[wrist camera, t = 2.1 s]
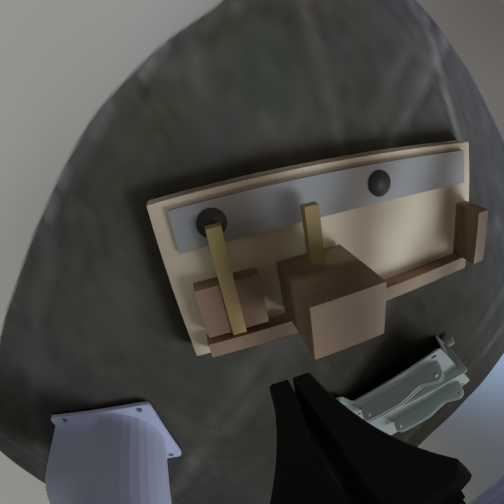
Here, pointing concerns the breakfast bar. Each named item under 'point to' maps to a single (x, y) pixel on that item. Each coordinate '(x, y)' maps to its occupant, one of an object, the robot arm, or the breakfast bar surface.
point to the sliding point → (330, 293)
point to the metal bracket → (413, 392)
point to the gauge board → (333, 232)
